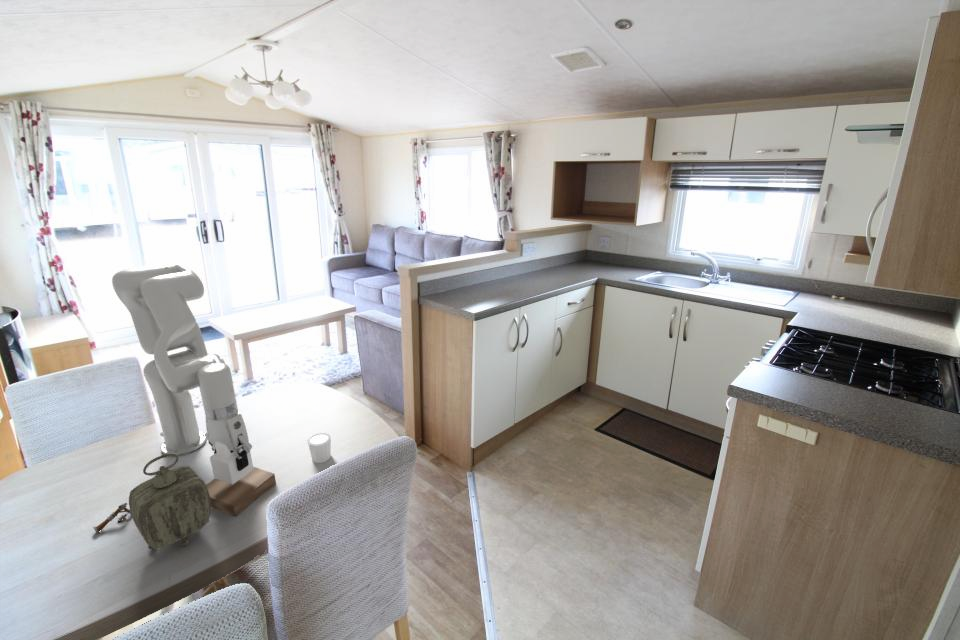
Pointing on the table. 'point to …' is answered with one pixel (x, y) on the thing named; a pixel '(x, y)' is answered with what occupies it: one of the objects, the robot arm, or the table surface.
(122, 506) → the wooden post with brackets
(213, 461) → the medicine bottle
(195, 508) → the camouflage pouch
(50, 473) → the table surface
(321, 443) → the white cup
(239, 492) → the block
